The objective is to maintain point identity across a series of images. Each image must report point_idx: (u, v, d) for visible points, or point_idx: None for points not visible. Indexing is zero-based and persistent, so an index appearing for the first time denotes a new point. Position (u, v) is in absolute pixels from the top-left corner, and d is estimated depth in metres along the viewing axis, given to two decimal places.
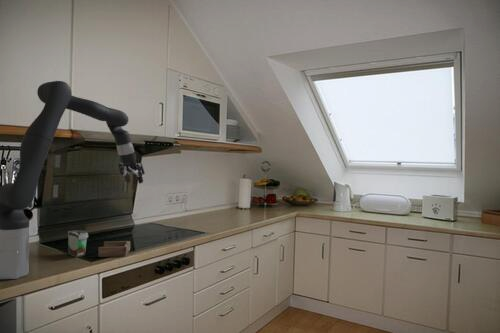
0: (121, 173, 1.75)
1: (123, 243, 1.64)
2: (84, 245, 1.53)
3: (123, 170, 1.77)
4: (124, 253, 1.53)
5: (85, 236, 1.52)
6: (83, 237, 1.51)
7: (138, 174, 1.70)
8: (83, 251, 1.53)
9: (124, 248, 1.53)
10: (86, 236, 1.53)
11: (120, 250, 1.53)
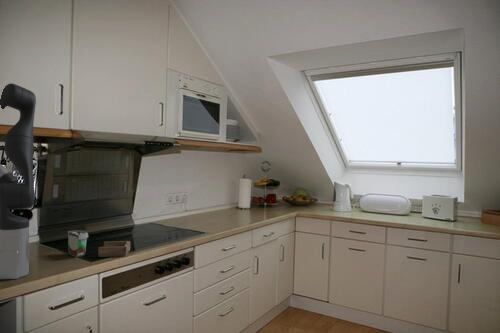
0: None
1: (123, 243, 1.64)
2: (84, 245, 1.53)
3: None
4: (124, 253, 1.53)
5: (85, 236, 1.52)
6: (83, 237, 1.51)
7: None
8: (83, 251, 1.53)
9: (124, 248, 1.53)
10: (86, 236, 1.53)
11: (120, 250, 1.53)
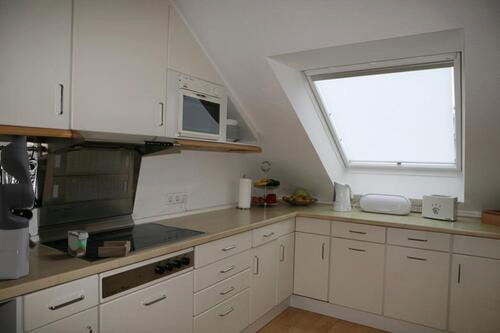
0: None
1: (123, 243, 1.64)
2: (84, 245, 1.53)
3: None
4: (124, 253, 1.53)
5: (85, 236, 1.52)
6: (83, 237, 1.51)
7: (28, 237, 1.52)
8: (83, 251, 1.53)
9: (124, 248, 1.53)
10: (86, 236, 1.53)
11: (120, 250, 1.53)
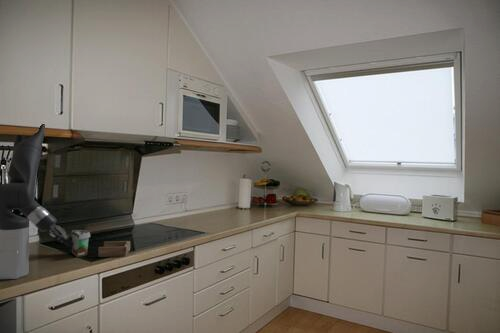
0: (63, 237, 1.52)
1: (123, 243, 1.64)
2: (85, 245, 1.53)
3: (58, 240, 1.50)
4: (124, 253, 1.53)
5: (86, 236, 1.52)
6: (84, 237, 1.51)
7: (66, 236, 1.55)
8: (84, 250, 1.53)
9: (124, 248, 1.53)
10: (87, 236, 1.53)
11: (120, 250, 1.53)
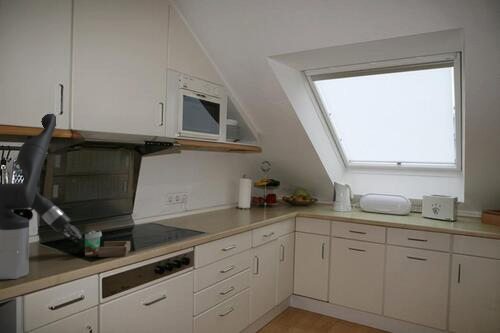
0: (77, 236, 1.53)
1: (123, 243, 1.64)
2: (93, 245, 1.53)
3: (72, 239, 1.52)
4: (124, 253, 1.53)
5: (93, 236, 1.52)
6: (90, 237, 1.51)
7: (79, 235, 1.57)
8: (92, 250, 1.53)
9: (124, 248, 1.53)
10: (95, 236, 1.53)
11: (120, 250, 1.53)
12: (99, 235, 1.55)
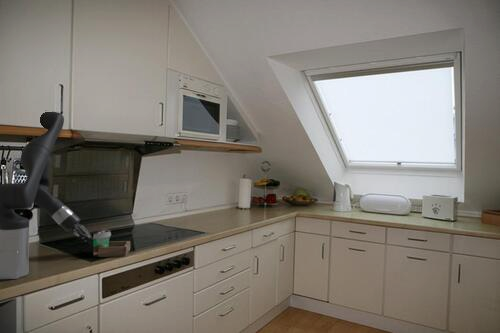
0: (86, 236, 1.54)
1: (123, 243, 1.64)
2: (102, 245, 1.54)
3: (82, 239, 1.53)
4: (124, 253, 1.53)
5: (101, 236, 1.53)
6: (98, 237, 1.52)
7: (89, 235, 1.57)
8: None
9: (124, 248, 1.53)
10: (103, 236, 1.53)
11: (120, 250, 1.53)
12: (108, 235, 1.55)
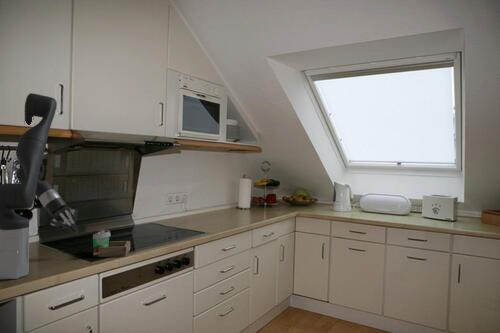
0: (64, 224, 1.50)
1: (123, 243, 1.64)
2: (102, 245, 1.54)
3: (61, 227, 1.51)
4: (124, 253, 1.53)
5: (101, 236, 1.52)
6: (98, 237, 1.52)
7: (72, 221, 1.53)
8: None
9: (124, 248, 1.53)
10: (103, 236, 1.53)
11: (120, 250, 1.53)
12: (107, 235, 1.55)
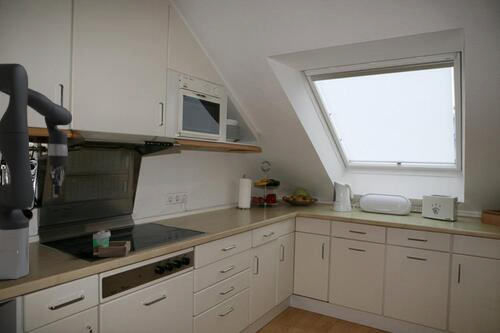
0: None
1: (123, 243, 1.64)
2: (102, 245, 1.54)
3: None
4: (124, 253, 1.53)
5: (101, 236, 1.52)
6: (98, 237, 1.52)
7: None
8: None
9: (124, 248, 1.53)
10: (103, 236, 1.53)
11: (120, 250, 1.53)
12: (107, 235, 1.55)
